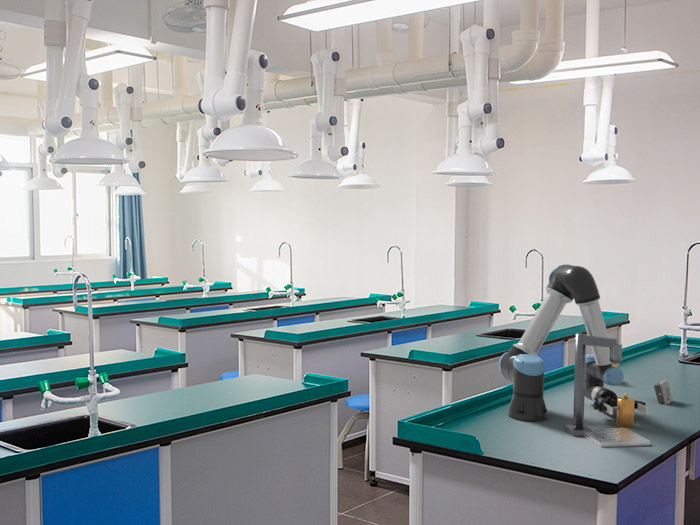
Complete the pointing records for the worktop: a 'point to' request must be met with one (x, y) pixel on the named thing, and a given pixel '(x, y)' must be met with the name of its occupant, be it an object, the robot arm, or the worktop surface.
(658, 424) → the worktop surface
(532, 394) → the robot arm
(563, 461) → the worktop surface
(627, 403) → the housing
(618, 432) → the arbor press
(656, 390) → the electrical switch
